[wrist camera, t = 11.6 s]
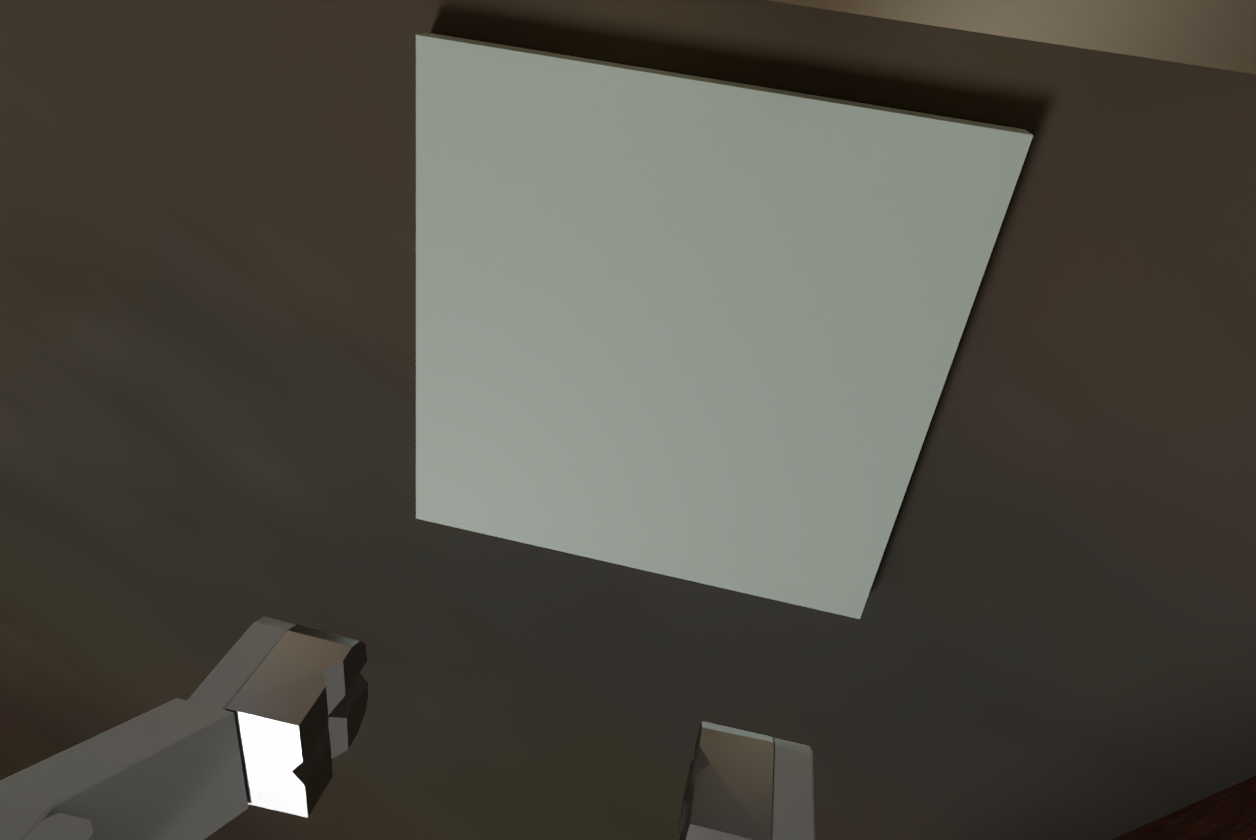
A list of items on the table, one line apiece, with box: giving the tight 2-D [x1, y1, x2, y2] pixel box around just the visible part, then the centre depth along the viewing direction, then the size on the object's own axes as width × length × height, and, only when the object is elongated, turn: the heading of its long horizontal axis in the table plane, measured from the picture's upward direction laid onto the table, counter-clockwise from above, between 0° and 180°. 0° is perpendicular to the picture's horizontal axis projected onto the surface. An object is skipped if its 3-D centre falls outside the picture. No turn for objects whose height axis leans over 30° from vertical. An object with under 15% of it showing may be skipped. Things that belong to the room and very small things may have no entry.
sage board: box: [416, 33, 1033, 619], centre depth 22 cm, size 14×14×1 cm
